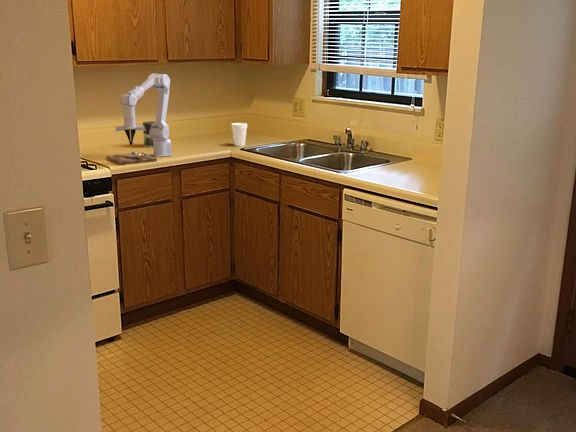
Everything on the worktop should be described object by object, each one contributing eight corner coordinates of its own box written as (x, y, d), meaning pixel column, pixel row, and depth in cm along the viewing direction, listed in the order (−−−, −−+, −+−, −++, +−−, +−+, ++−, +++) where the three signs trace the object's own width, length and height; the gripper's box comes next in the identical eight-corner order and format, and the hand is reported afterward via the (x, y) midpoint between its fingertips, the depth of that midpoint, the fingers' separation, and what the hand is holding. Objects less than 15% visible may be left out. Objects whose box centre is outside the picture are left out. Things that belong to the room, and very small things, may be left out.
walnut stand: (142, 155, 341) (142, 147, 340) (156, 161, 326) (156, 152, 324) (107, 158, 331) (106, 150, 329) (120, 165, 315) (119, 156, 313)
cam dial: (122, 155, 331) (122, 150, 330) (140, 153, 336) (140, 148, 335) (130, 159, 319) (130, 154, 319) (149, 158, 324) (148, 153, 324)
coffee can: (145, 148, 363) (144, 124, 359) (142, 145, 372) (141, 121, 368) (162, 147, 366) (161, 123, 362) (160, 144, 375) (158, 121, 371)
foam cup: (229, 146, 372) (229, 124, 368) (234, 143, 381) (234, 122, 377) (244, 147, 370) (244, 125, 366) (249, 144, 378) (249, 123, 375)
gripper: (114, 119, 311) (116, 146, 315) (144, 118, 315) (145, 145, 319) (114, 117, 318) (116, 143, 322) (143, 116, 321) (145, 142, 325)
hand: (131, 144), depth 321 cm, fingers closed
